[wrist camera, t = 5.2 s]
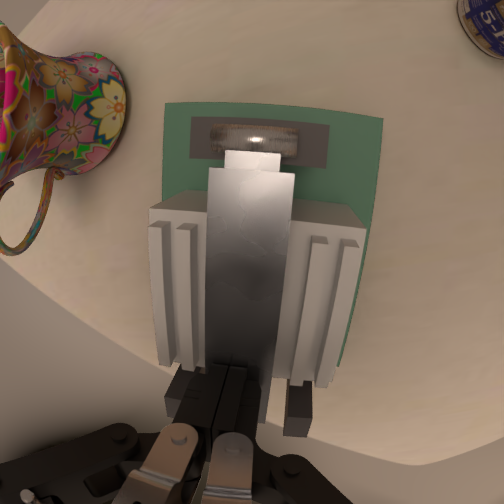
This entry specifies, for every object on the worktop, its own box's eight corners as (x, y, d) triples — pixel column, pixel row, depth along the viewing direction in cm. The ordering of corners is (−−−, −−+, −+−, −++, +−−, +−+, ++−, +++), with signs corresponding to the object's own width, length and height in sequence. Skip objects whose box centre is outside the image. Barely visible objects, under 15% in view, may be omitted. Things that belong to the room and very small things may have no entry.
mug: (33, 76, 17) (-76, 72, 7) (133, 30, 16) (19, -23, 6) (52, 223, 21) (-54, 277, 11) (154, 206, 19) (39, 272, 9)
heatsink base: (378, 119, 16) (437, 107, 8) (337, 357, 21) (348, 446, 14) (171, 104, 17) (95, 88, 10) (173, 337, 23) (129, 413, 15)
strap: (298, 129, 10) (298, 127, 9) (266, 411, 14) (264, 425, 13) (218, 124, 11) (211, 122, 10) (209, 403, 14) (205, 416, 13)
